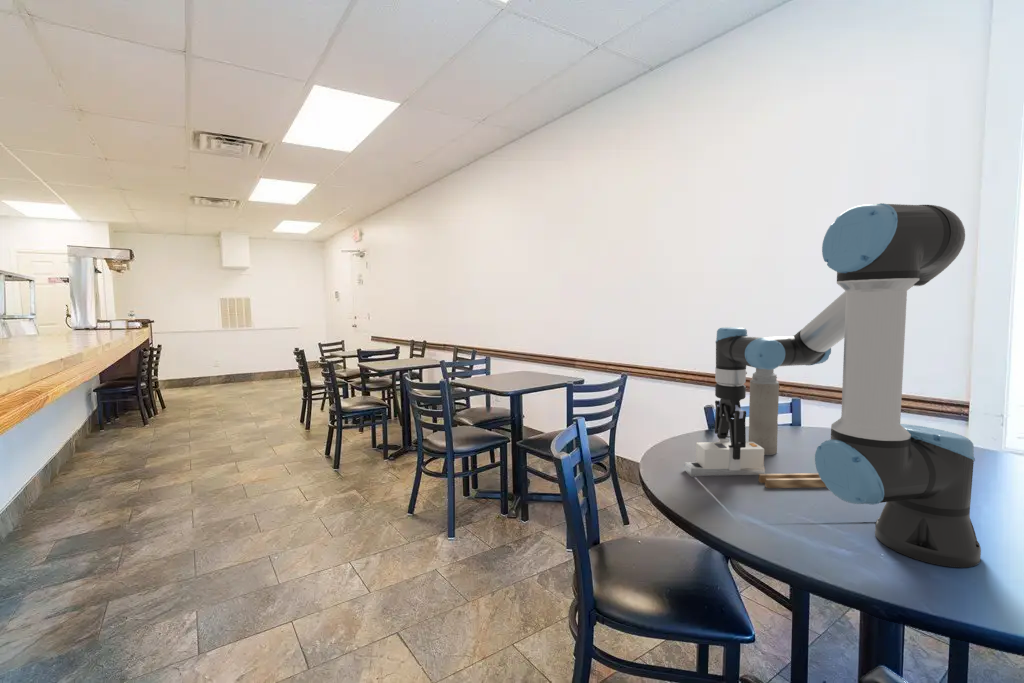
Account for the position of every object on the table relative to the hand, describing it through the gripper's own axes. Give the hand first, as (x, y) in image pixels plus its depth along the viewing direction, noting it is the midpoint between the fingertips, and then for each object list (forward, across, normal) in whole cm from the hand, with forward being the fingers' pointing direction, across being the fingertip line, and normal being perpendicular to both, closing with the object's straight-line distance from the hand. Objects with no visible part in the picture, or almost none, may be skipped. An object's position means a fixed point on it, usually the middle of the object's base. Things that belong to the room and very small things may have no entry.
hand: (728, 465), depth 126 cm
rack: (+2, -9, -13) cm, 16 cm away
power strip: (+2, 0, 0) cm, 2 cm away
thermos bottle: (+3, +18, -19) cm, 26 cm away
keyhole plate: (+2, 0, +1) cm, 3 cm away
